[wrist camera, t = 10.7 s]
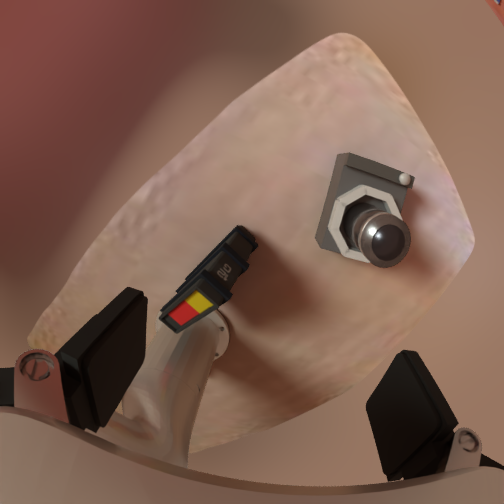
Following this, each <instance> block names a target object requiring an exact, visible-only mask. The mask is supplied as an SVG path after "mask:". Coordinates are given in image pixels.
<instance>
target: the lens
mask: <svg viewBox="0 0 504 504" xmlns="http://www.w3.org/2000/svg"><path fill="white" fill-rule="evenodd" d="M343 227H344V231H345V234H346V236H347V237H348V238H349V239H350V240H351V241H352V242H353V244H354V245H355V246H356V247H357V248H358V249H359V250H360V251H361V252H362V254H363V255H364V256H365V257H366V258H367V259H368V260H369V261H370V262H371V263H372V264H374V265H375V266H377V267H381V268H388V267H392V266H394V265H396V264H398V263H399V262H400V261H401V260H402V259H403V258H404V257H405V256H406V254H407V252H408V250H409V247H410V242H411V236H410V231H409V229H408V226H407V225H406V224H405V222H404V221H402V220H401V219H399V218H398V217H396V216H395V215H393V214H391V213H388V212H386V211H384V210H382V209H380V208H378V207H376V206H374V205H372V204H369V203H358V204H356V205H354V206H352V207H351V208H350V209H349V210H348V211H347V213H346V215H345V217H344V222H343Z"/></svg>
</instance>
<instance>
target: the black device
mask: <svg viewBox="0 0 504 504" xmlns="http://www.w3.org/2000/svg"><path fill="white" fill-rule="evenodd" d="M257 247H258V244H257V243H256V242H255V238H254V237H253V236H252V235H251V234H250V233H249V232H248V231H247V230H246V229H245V228H244V227H243V226H241V225H240V226H238V225H237V226H236V227H235V228H234V229H233V230H232V231H231V232H230V233H229V234H228V235H227V236H226V237H225V238H224V239H223V240H222V241H221V242H220V243H219V244H218V245H217V246H216V247H215V248H214V249H213V250H212V251H211V252H210V253H209V254H208V255H207V257H206V258H205V259H204V260H203V261H202V262H201V263H200V264H199V265H198V266H197V267H196V268H195V269H194V270H193V271H192V272H191V273H190V274H189V275H188V276H187V277H186V279H185V280H186V281H185V282H184V283H183V284H182V285H181V286H180V287H179V288H178V289H177V290H176V292H177V294H176V295H175V296H174V297H173V298H172V299H171V300H170V301H169V302H168V303H167V304H166V305H165V306H163V308H162V309H161V310H160V311H161V312H162V314H161V315H160V316H159V320H160V321H161V322H163V323H164V324H165V325H166V326H167V327H168V328H170V329H171V330H172V331H173V332H174V333H176V334H178V333H180V332H181V331H183V330H184V329H186V328H188V327H189V326H191V325H192V324H194V323H196V322H197V321H199V320H200V319H202V318H204V317H205V316H207V315H208V314H210V313H211V312H213V311H215V310H216V309H218V308H219V306H221V305H222V304H224V303H225V302H227V301H228V300H230V298H231V297H232V295H233V294H232V293H231V292H230V289H231V288H232V286H233V285H234V283H235V282H236V280H237V278H238V277H239V276H240V275H241V274H242V273H244V272H245V271H246V270H247V269H248V268H249V266H250V264H248V263H247V260H248V258H249V256H250V254H251V253H252V252H253V251H254V250H255V249H256V248H257Z"/></svg>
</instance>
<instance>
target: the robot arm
mask: <svg viewBox="0 0 504 504" xmlns="http://www.w3.org/2000/svg"><path fill="white" fill-rule="evenodd" d="M147 304H148V299H147V297H145V296H144V293H143V291H140V290H137V289H134V288H131V287H127V288H125V289H124V290H123V291H122V292H121V293H120V294H119V295H118V296H117V297H116V298H115V299H113V300H112V301H111V302H110V303H109V304H108V305H107V306H106V307H105V308H104V309H103V310H102V311H101V312H100V313H98V314H96V315H95V316H93V317H92V318H91V319H90V320H89V321H88V322H87V323H86V324H85V325H84V326H83V327H82V328H81V329H80V330H79V331H78V332H77V333H76V334H75V335H74V336H73V337H72V338H71V339H70V340H69V341H68V342H66V343H65V344H64V345H63V346H62V347H61V348H60V350H59V351H58V352H57V353H56V354H55V355H53V354H52V353H50V352H49V351H46V350H43V349H32V350H28V351H26V352H24V353H22V354H21V355H20V356H19V357H18V359H17V360H16V363H15V367H12V368H0V504H504V466H502V465H501V464H499V463H497V462H495V461H494V460H492V459H490V458H489V457H487V456H485V455H483V454H482V453H481V451H482V443H481V440H480V438H479V437H478V435H477V434H476V433H475V432H474V431H472V430H471V429H469V428H460V429H458V430H457V431H456V432H455V433H454V432H453V429H454V428H455V427H456V426H457V424H458V421H457V419H456V417H455V415H454V414H453V412H452V410H451V408H450V406H449V404H448V403H447V401H446V399H445V398H444V396H443V394H442V392H441V391H440V389H439V387H438V385H437V384H436V382H435V380H434V379H433V377H432V375H431V374H430V372H429V370H428V369H427V367H426V366H425V364H424V362H423V361H422V359H421V358H420V356H419V354H418V353H417V352H416V351H408V350H402V351H401V352H400V353H398V354H397V355H396V356H395V358H394V360H393V361H392V363H391V365H390V366H389V368H388V370H387V371H386V373H385V375H384V376H383V378H382V380H381V381H380V383H379V384H378V386H377V387H376V389H375V390H374V392H373V393H372V395H371V396H370V398H369V399H368V401H367V403H366V411H367V414H368V417H369V421H370V424H371V428H372V431H373V435H374V439H375V442H376V446H377V450H378V454H379V458H380V461H381V465H382V469H383V473H384V474H385V475H386V476H387V480H388V482H387V483H379V484H368V485H355V486H331V487H330V486H328V487H327V486H323V487H321V486H292V485H278V484H268V483H260V482H251V481H245V480H239V479H233V478H227V477H222V476H217V475H212V474H208V473H204V472H199V471H195V470H191V469H188V468H187V467H188V452H189V445H190V439H191V434H192V430H193V426H194V422H195V419H196V416H197V412H198V409H199V406H200V402H201V399H202V396H203V393H204V389H205V386H206V383H207V380H208V376H209V373H210V370H211V367H212V363H213V361H214V360H216V359H218V358H219V357H220V356H222V355H223V354H224V352H225V351H226V349H227V347H228V344H229V339H230V332H229V327H228V325H227V323H226V320H225V319H224V318H223V316H222V315H221V314H220V313H219V312H218V311H217V310H215V311H213V312H211V313H210V314H208V315H207V316H205V317H204V318H202V319H200V320H199V321H197V322H196V323H194V324H192V325H191V326H189V327H188V328H186V329H184V330H183V331H181V332H180V333H178V334H176V333H174V332H173V331H172V330H171V329H170V328H168V327H167V326H166V325H165V324H164V323H163V322H161V321H160V320H159V316H160V315H161V314H162V312H161V311H160V312H159V314H158V315H157V319H156V332H157V334H156V335H155V337H154V338H153V340H152V341H151V343H150V344H149V346H148V347H147V349H146V322H147ZM121 400H122V410H123V415H124V416H123V415H122V414H119V413H117V412H116V411H115V410H116V408H117V406H118V404H119V403H120V401H121ZM402 477H403V478H404V480H401V481H396V480H400V479H401V478H402ZM389 481H395V482H389Z"/></svg>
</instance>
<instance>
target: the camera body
mask: <svg viewBox="0 0 504 504" xmlns="http://www.w3.org/2000/svg"><path fill="white" fill-rule="evenodd" d="M414 178H415V177H413V176H411V175H408V174H406V173H404V172H401V171H399V170H396V169H394V168H391V167H388V166H386V165H383V164H380V163H378V162H375V161H372V160H370V159H367V158H364V157H361V156H358V155H355V154H352V153H343V154H337V158H336V162H335V166H334V170H333V174H332V178H331V182H330V186H329V190H328V193H327V197H326V201H325V204H324V208H323V212H322V215H321V219H320V222H319V226H318V229H317V233H316V236H315V239H316V241H317V243H318V244H319V246H320V248H322V249H326V250H330V251H334V252H337V253H341V254H342V255H344V257H348V258H351V259H355V260H359V261H363V262H367V263H369V262H370V261H369V260H368V259H367V258H366V257H365V256H364V255H363V254H362V252H361V251H360V250H359V249H358V248H357V247H356V246H355V245H354V244H353V242H352V241H351V240H350V239H349V238H348V237H347V236H346V234H345V231H344V227H343V222H344V217H345V215H346V213H347V211H348V210H349V209H350V208H351V207H352V206H354V205H356V204H358V203H369V204H372V205H374V206H376V207H378V208H380V209H382V210H384V211H386V212H388V213H391V214H393V215H395V216H396V217H398V218H399V219H401V220H402V217H401V215H400V213H401V210H402V207H403V203H404V200H405V196H406V192H407V188H411V189H412V186H413V182H414ZM370 263H371V262H370Z"/></svg>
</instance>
